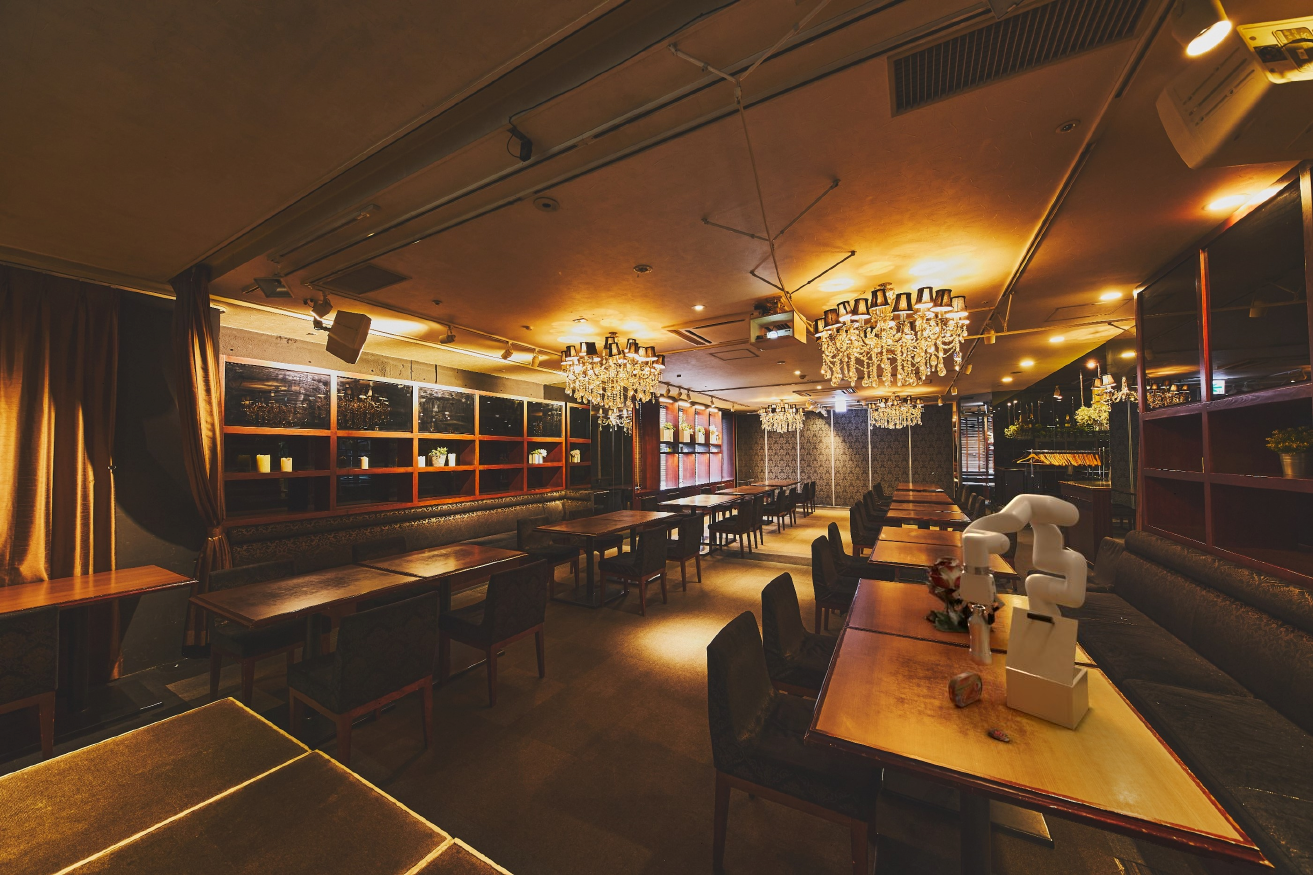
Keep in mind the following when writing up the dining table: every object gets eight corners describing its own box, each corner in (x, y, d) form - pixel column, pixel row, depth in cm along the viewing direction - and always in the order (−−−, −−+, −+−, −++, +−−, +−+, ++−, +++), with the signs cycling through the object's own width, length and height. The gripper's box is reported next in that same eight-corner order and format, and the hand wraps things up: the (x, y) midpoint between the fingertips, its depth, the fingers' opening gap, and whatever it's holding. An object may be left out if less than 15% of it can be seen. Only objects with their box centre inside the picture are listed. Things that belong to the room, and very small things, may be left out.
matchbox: (986, 734, 132) (986, 733, 132) (992, 728, 135) (992, 726, 135) (1006, 742, 128) (1006, 741, 128) (1012, 735, 131) (1012, 734, 131)
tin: (956, 709, 145) (955, 682, 145) (946, 705, 147) (945, 678, 148) (984, 697, 152) (983, 671, 152) (973, 693, 154) (972, 667, 155)
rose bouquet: (1007, 632, 204) (1004, 563, 205) (940, 632, 205) (938, 563, 206) (968, 611, 230) (966, 550, 231) (909, 612, 230) (907, 551, 231)
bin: (1025, 687, 157) (1024, 651, 158) (1088, 708, 145) (1087, 669, 145) (1006, 705, 147) (1005, 667, 147) (1073, 729, 134) (1072, 687, 134)
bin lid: (1013, 607, 153) (1008, 602, 150) (1078, 620, 140) (1074, 615, 137) (1005, 666, 147) (1000, 662, 144) (1072, 686, 134) (1067, 682, 132)
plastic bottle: (996, 669, 159) (994, 610, 159) (974, 668, 160) (971, 609, 160) (987, 660, 165) (984, 603, 165) (965, 659, 166) (963, 603, 167)
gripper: (1010, 572, 158) (1012, 625, 158) (953, 563, 172) (955, 612, 172) (1002, 576, 154) (1004, 631, 154) (944, 567, 168) (947, 617, 167)
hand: (978, 620), depth 163 cm, fingers closed on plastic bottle, 6 cm apart
